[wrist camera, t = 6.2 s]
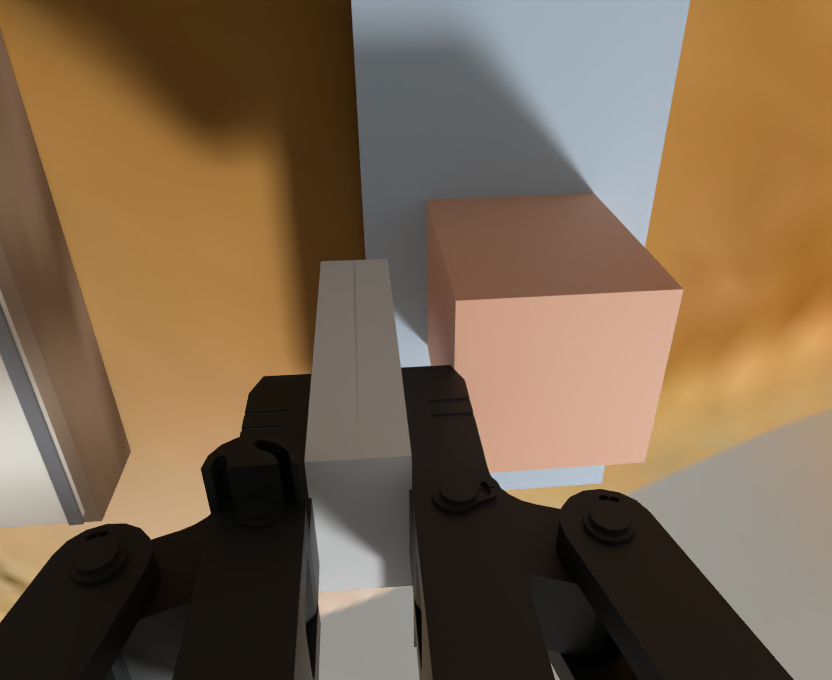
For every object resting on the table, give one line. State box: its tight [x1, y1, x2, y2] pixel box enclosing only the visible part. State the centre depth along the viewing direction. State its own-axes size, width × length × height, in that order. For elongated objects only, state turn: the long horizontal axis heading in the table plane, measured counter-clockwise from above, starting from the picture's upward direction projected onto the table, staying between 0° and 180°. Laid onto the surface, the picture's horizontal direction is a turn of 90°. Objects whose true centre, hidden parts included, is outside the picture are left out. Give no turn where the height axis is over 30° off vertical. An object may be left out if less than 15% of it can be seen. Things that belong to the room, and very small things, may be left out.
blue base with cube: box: [351, 0, 690, 490], centre depth 16 cm, size 15×7×8 cm, turn 1°
